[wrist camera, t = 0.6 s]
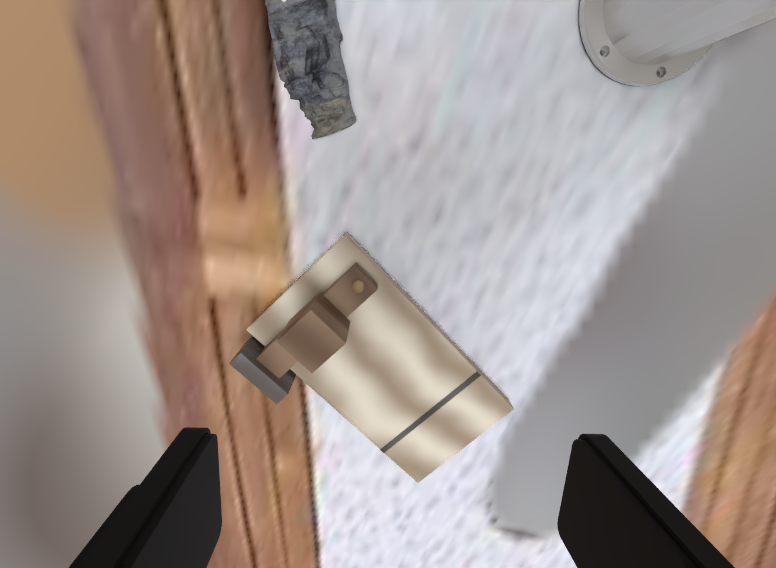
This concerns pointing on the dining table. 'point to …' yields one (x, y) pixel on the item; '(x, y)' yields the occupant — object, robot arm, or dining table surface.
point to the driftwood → (311, 61)
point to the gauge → (306, 335)
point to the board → (392, 368)
